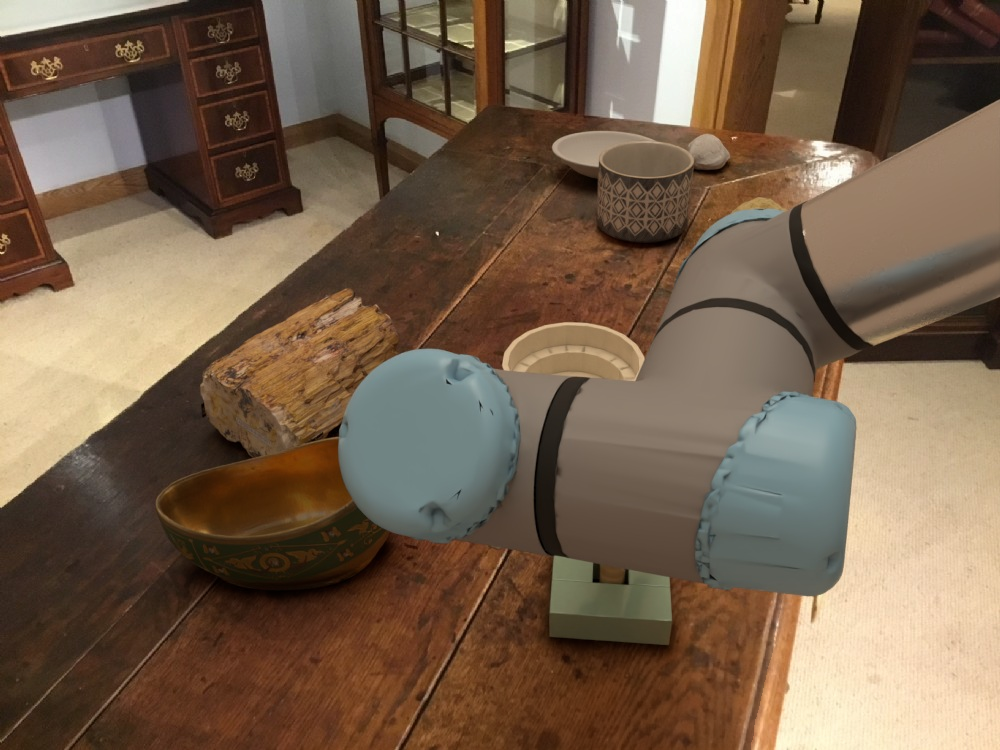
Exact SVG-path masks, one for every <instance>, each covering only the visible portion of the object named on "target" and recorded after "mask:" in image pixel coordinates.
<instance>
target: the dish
mask: <svg viewBox="0 0 1000 750" xmlns="http://www.w3.org/2000/svg"><path fill="white" fill-rule="evenodd" d="M632 141H656V140H654V139H653V138H650V137H647V136H644V135H641V134H636V133H632V132H624V131H617V130H616V131H614V130H593V131H581V132H576V133H570V134H568V135H564V136H562V137H560V138H558V139H557V140H555V141H554V142H553V143H552V146H551V150H552V152H553V154H554V155H555V156H556V157H557V158H559V159H561V161H562V162H563V163H565V164H566V165H567V166H568V167H569V168H570V169H572V170H573V171H575V172H576V173H578V174H580V175H583V176H586V177H588V178H592V179H597V180H598V171H599V156H600V154H601V153H602V152H603V151H604V150H605V149H607V148H609V147H611V146H613V145H616V144H620V143H625V142H632Z"/></svg>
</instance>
